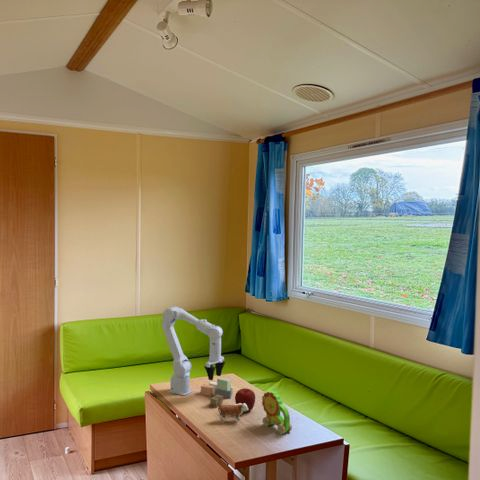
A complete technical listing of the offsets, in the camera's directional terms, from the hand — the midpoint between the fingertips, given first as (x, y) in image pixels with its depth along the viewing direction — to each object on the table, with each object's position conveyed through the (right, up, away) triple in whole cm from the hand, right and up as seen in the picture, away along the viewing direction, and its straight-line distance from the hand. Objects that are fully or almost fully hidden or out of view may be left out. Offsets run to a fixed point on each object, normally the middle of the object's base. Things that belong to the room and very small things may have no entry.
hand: (214, 377), depth 248 cm
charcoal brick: (+4, -10, +1) cm, 11 cm away
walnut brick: (+1, -10, -11) cm, 15 cm away
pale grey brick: (0, -9, +9) cm, 13 cm away
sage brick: (+5, -6, +1) cm, 7 cm away
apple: (+15, -11, -17) cm, 25 cm away
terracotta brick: (-4, -9, +4) cm, 11 cm away
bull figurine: (+10, -11, -29) cm, 33 cm away
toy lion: (+28, -12, -36) cm, 47 cm away
